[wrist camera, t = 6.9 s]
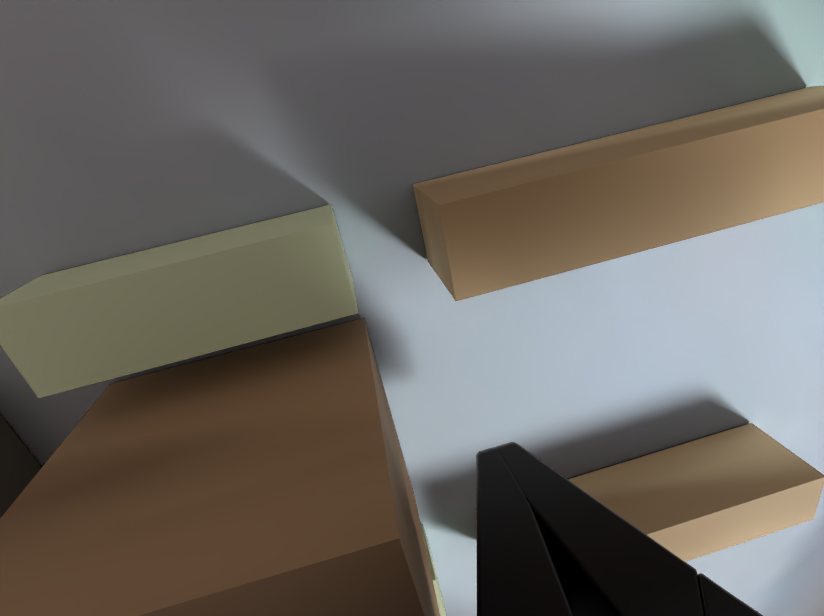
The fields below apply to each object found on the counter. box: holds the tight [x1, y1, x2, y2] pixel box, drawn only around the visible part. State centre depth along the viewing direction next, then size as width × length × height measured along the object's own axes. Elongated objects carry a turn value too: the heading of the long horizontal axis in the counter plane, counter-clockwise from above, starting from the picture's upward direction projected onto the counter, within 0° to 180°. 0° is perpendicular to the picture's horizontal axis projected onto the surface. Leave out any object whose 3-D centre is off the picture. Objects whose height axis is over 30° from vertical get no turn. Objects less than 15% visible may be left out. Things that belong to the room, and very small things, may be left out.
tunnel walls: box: [413, 86, 824, 562], centre depth 9 cm, size 10×8×2 cm
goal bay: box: [0, 204, 446, 616], centre depth 9 cm, size 10×5×2 cm, turn 12°
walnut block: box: [0, 318, 440, 616], centre depth 7 cm, size 5×5×5 cm
